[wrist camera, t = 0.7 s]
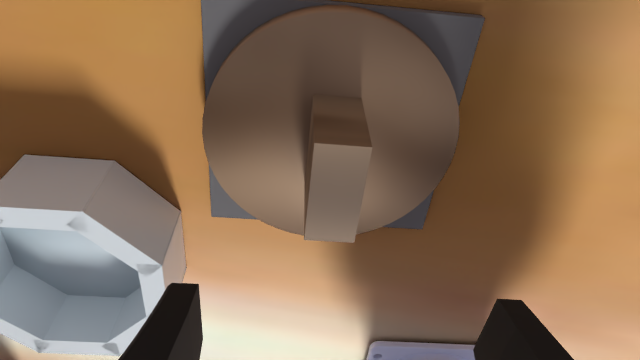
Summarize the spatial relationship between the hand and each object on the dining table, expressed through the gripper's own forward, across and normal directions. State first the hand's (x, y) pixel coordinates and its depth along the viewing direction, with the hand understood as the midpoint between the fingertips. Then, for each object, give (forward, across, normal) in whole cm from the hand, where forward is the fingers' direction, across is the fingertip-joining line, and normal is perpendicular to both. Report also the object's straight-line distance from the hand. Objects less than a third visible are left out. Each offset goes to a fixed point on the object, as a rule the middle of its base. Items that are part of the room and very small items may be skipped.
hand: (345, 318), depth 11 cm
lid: (+9, 0, 0) cm, 9 cm away
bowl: (+10, +11, +7) cm, 16 cm away
